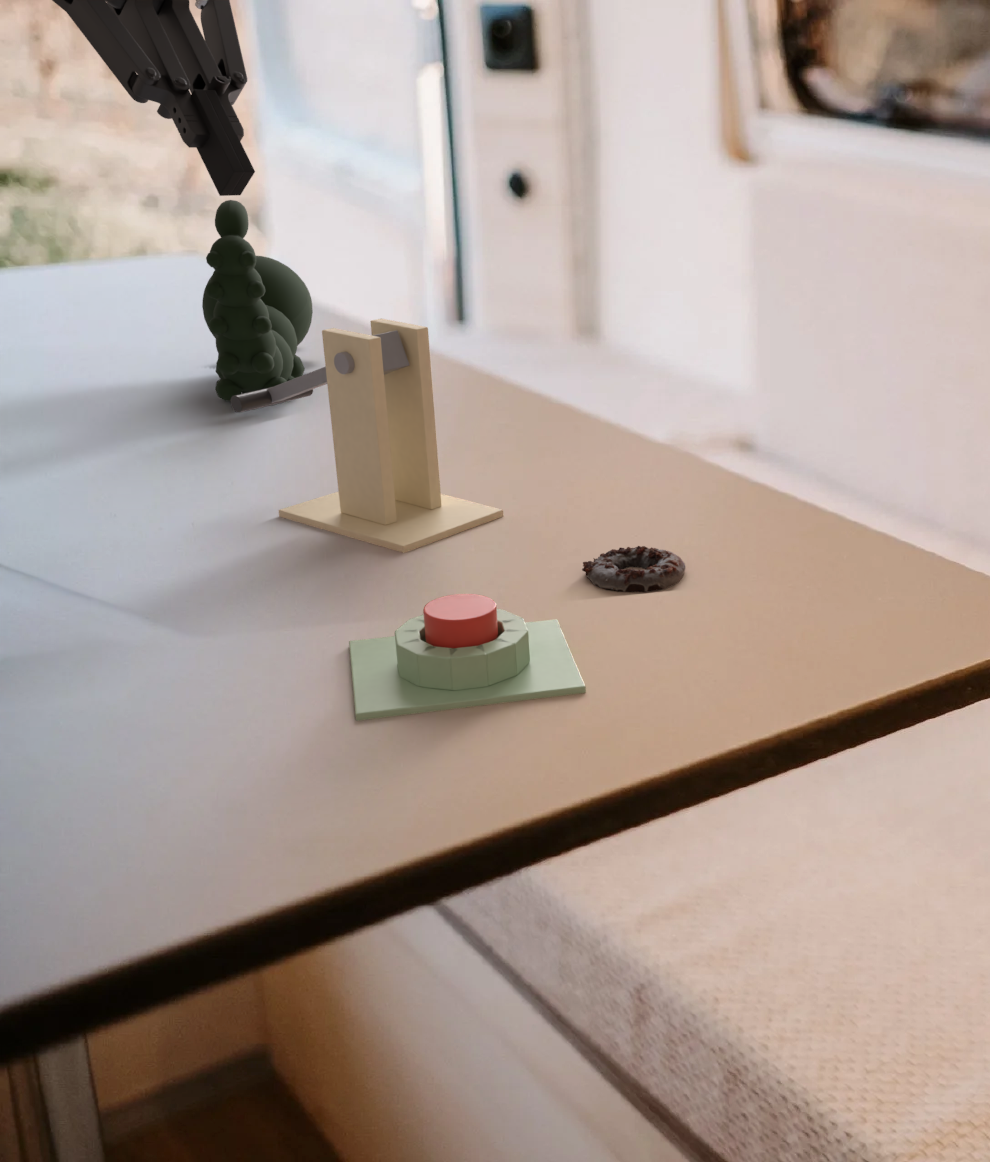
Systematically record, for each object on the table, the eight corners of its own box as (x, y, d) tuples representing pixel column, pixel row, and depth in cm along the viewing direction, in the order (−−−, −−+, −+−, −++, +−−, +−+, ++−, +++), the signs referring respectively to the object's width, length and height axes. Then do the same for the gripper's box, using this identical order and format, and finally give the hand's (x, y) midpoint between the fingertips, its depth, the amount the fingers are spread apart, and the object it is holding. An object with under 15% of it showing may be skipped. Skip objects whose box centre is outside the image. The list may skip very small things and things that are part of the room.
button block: (359, 754, 71) (351, 679, 69) (352, 677, 78) (345, 609, 77) (587, 725, 74) (584, 653, 73) (559, 654, 82) (555, 588, 81)
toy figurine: (313, 437, 125) (321, 347, 147) (288, 216, 117) (300, 154, 138) (194, 442, 123) (220, 350, 144) (159, 216, 114) (192, 154, 135)
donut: (624, 555, 97) (623, 526, 96) (725, 577, 94) (725, 547, 93) (547, 597, 90) (545, 566, 89) (654, 621, 87) (653, 589, 86)
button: (428, 655, 73) (426, 623, 72) (423, 628, 76) (420, 597, 75) (502, 647, 74) (500, 615, 73) (493, 620, 77) (491, 590, 77)
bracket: (280, 527, 100) (255, 327, 95) (383, 494, 107) (365, 306, 102) (404, 564, 94) (386, 353, 89) (504, 527, 101) (492, 329, 96)
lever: (237, 422, 101) (224, 389, 101) (308, 405, 106) (296, 373, 105) (361, 376, 93) (347, 340, 93) (431, 360, 98) (419, 325, 97)
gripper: (169, -58, 108) (302, 212, 106) (-19, -79, 98) (123, 219, 96) (205, -132, 104) (345, 149, 101) (10, -162, 94) (161, 150, 91)
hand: (237, 183), depth 98 cm, fingers closed
